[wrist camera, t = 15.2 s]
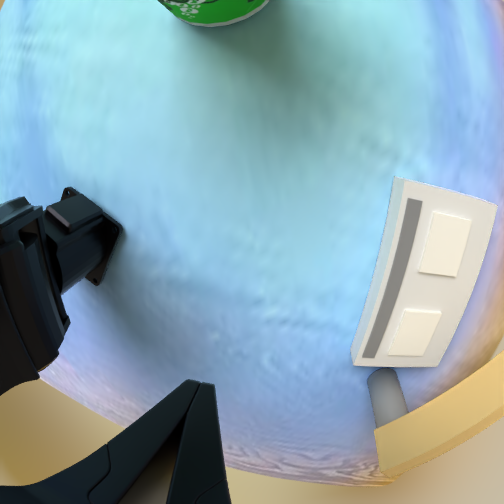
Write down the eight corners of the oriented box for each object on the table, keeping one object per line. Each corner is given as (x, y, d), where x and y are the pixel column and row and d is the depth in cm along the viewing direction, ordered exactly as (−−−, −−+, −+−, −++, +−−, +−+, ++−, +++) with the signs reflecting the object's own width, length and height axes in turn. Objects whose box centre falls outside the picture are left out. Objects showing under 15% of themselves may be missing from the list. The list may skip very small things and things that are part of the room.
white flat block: (429, 352, 22) (438, 368, 19) (350, 349, 22) (353, 368, 20) (482, 199, 16) (499, 206, 14) (394, 175, 17) (406, 180, 15)
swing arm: (374, 392, 24) (391, 479, 15) (362, 378, 23) (378, 470, 14) (520, 290, 18) (577, 349, 9) (516, 268, 17) (581, 327, 8)
